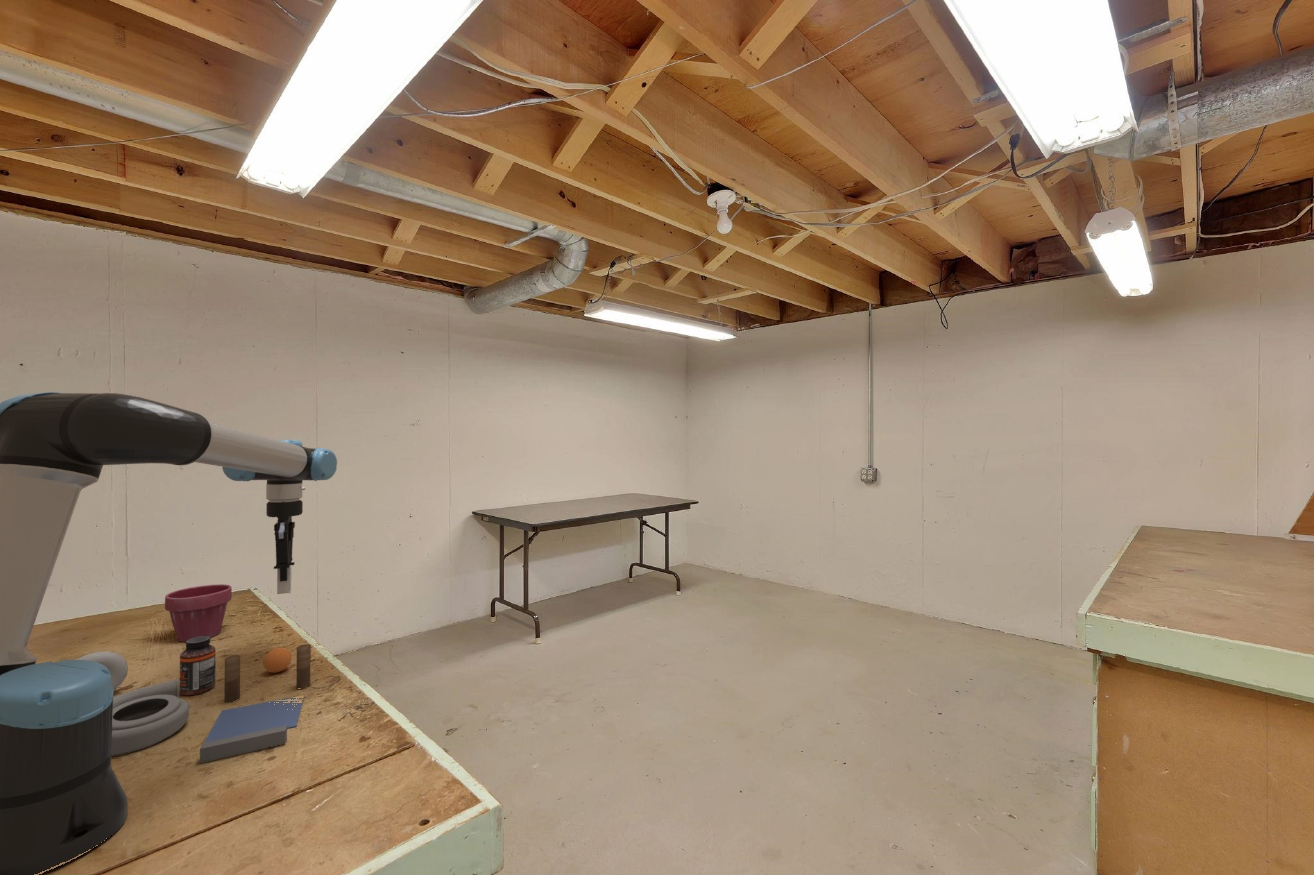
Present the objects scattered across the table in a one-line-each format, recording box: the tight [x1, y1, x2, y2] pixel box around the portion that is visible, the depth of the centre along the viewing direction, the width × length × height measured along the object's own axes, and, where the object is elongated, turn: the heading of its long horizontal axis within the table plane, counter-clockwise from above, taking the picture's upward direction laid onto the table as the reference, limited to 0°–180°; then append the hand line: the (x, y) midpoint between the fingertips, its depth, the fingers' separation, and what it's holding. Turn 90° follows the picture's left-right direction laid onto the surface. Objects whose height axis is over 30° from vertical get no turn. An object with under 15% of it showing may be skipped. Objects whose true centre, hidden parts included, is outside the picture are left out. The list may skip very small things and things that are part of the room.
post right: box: [295, 643, 312, 689], centre depth 117 cm, size 3×3×9 cm
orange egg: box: [262, 647, 293, 674], centre depth 124 cm, size 6×6×6 cm
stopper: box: [199, 725, 288, 764], centre depth 93 cm, size 2×12×2 cm, turn 119°
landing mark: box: [203, 697, 305, 743], centre depth 103 cm, size 14×14×1 cm
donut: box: [76, 650, 129, 691], centre depth 111 cm, size 10×4×10 cm, turn 138°
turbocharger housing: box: [111, 677, 190, 758], centre depth 98 cm, size 17×6×15 cm
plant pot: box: [164, 583, 233, 643], centre depth 147 cm, size 14×14×13 cm
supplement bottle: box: [179, 636, 217, 697], centre depth 115 cm, size 6×6×11 cm
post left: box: [223, 654, 241, 703], centre depth 111 cm, size 3×3×9 cm
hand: (284, 592), depth 133 cm, fingers closed
